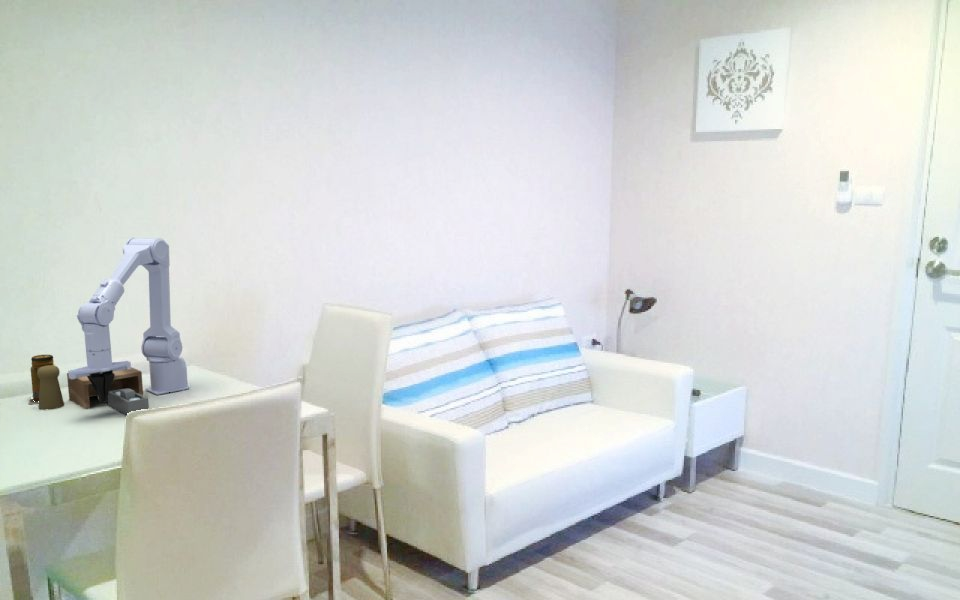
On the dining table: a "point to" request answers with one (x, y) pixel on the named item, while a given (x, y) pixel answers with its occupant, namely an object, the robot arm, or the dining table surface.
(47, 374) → the cork
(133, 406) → the tray
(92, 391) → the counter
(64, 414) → the dining table surface
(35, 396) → the condiment
